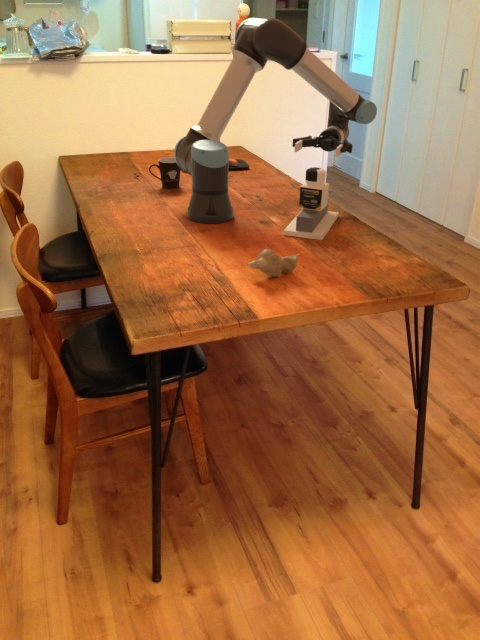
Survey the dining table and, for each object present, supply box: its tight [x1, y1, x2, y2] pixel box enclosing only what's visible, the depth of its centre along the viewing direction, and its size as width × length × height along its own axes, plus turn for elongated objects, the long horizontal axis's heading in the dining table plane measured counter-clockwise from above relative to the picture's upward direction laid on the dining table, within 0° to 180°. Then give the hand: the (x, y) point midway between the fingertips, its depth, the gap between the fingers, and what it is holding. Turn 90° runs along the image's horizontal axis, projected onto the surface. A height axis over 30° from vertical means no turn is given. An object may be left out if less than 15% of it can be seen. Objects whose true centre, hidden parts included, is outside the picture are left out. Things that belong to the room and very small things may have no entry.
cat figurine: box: [248, 248, 300, 278], centre depth 152 cm, size 8×7×12 cm
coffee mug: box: [148, 157, 182, 190], centre depth 225 cm, size 12×9×10 cm
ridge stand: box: [283, 198, 339, 241], centre depth 187 cm, size 24×12×6 cm, turn 160°
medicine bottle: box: [298, 166, 330, 211], centre depth 183 cm, size 7×7×12 cm
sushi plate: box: [229, 158, 250, 170], centre depth 261 cm, size 29×30×4 cm
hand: (316, 150), depth 191 cm, fingers open, 13 cm apart
